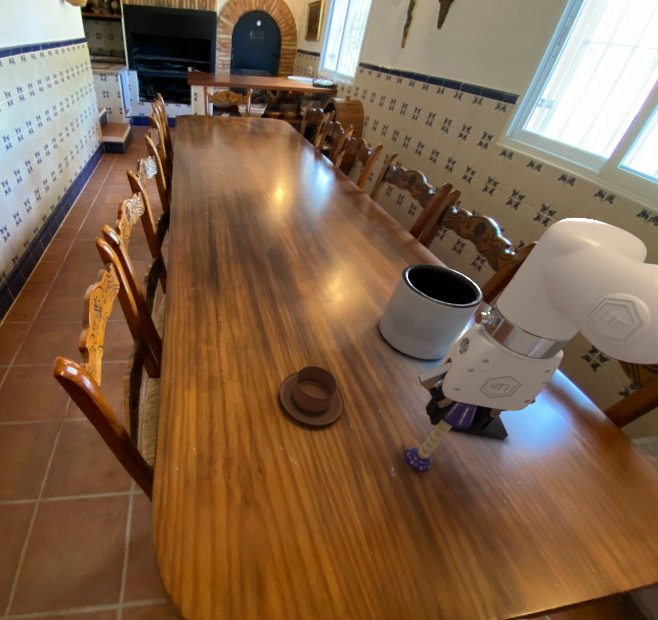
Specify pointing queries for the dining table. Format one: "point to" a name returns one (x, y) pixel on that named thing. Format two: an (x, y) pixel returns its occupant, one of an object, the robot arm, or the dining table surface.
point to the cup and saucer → (312, 396)
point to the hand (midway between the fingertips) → (450, 419)
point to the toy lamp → (440, 435)
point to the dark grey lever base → (488, 429)
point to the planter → (429, 310)
